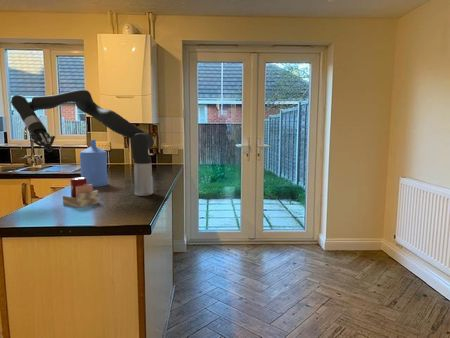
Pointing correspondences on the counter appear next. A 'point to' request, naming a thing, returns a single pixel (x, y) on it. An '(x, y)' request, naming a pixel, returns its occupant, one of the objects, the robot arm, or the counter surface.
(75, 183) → the soda can
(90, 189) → the catch plate
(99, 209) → the counter surface
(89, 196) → the birch dock
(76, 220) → the counter surface
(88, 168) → the water jug
